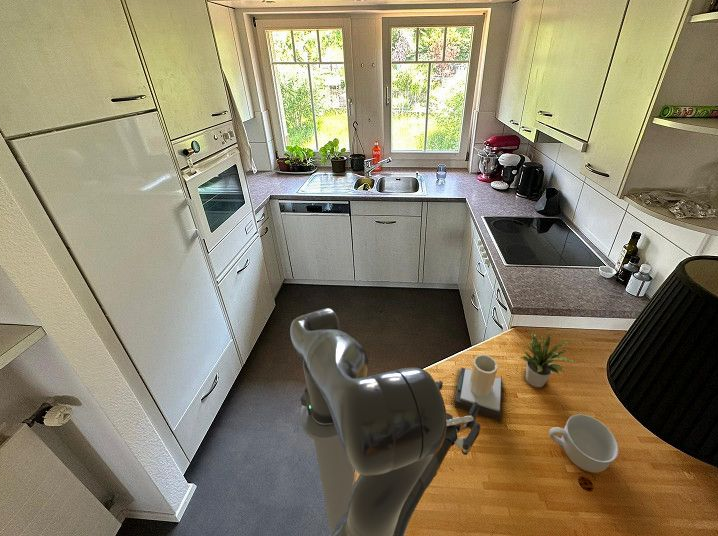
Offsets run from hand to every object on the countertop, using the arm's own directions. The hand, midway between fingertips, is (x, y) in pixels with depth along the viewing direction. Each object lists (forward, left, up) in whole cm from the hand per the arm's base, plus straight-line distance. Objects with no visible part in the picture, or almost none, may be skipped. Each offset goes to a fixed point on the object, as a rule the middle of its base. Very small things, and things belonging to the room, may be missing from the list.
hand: (458, 393), depth 72 cm
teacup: (+29, +9, -20) cm, 36 cm away
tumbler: (+6, +17, -16) cm, 24 cm away
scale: (+5, +17, -20) cm, 26 cm away
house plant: (+22, +28, -20) cm, 41 cm away
